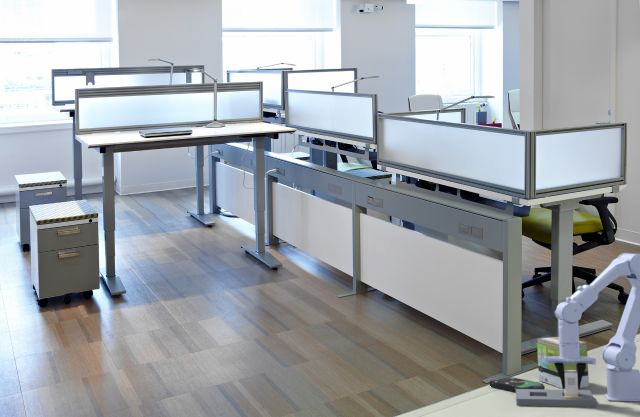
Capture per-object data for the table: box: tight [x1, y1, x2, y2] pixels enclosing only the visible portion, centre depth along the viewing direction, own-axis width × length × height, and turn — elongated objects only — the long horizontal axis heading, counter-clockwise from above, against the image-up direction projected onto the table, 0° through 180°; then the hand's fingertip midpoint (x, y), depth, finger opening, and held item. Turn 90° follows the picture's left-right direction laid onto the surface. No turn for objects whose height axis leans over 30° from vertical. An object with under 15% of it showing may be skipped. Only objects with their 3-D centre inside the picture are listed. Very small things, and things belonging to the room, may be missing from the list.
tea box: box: [536, 336, 590, 390], centre depth 256 cm, size 15×10×15 cm
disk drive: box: [489, 376, 545, 394], centre depth 251 cm, size 10×3×15 cm
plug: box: [563, 370, 579, 397], centre depth 230 cm, size 4×5×8 cm
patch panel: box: [515, 389, 596, 408], centre depth 232 cm, size 22×14×2 cm, turn 77°
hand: (571, 388), depth 230 cm, fingers closed on plug, 3 cm apart
